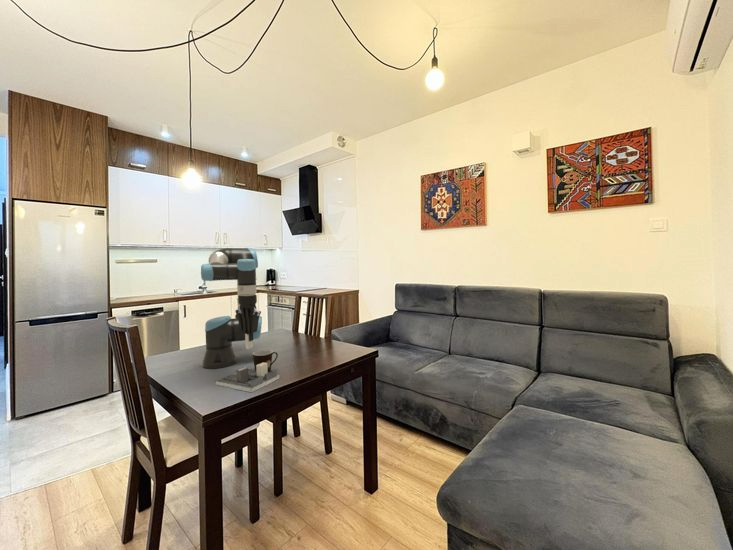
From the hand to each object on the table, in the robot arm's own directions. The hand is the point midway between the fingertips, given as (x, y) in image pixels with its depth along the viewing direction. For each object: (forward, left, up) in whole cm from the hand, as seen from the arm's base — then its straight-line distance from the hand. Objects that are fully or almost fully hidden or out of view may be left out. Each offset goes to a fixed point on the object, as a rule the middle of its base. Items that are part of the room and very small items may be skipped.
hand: (249, 347), depth 138 cm
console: (+4, -4, -13) cm, 14 cm away
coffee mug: (+3, +6, -14) cm, 15 cm away
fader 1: (+5, -8, -11) cm, 15 cm away
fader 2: (+7, 0, -11) cm, 13 cm away
